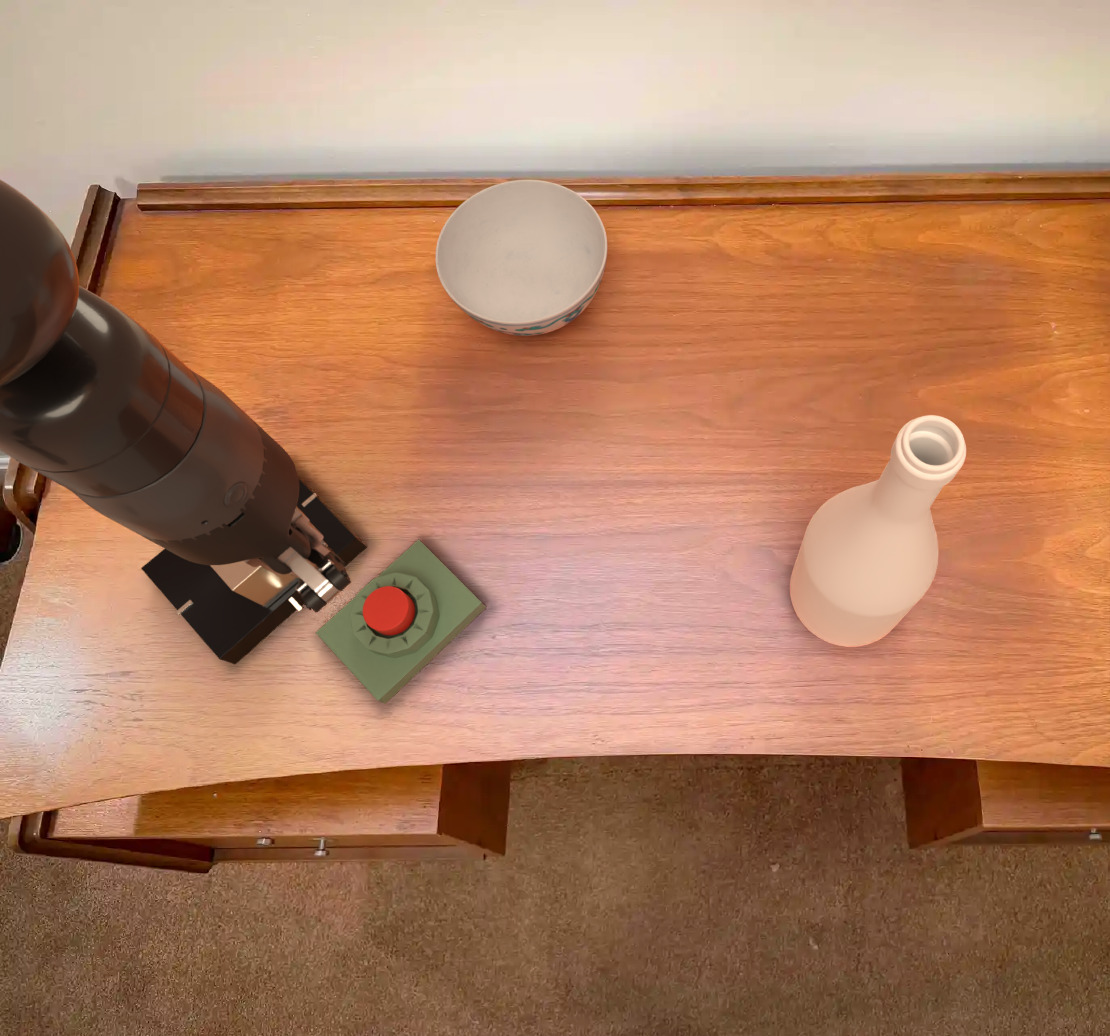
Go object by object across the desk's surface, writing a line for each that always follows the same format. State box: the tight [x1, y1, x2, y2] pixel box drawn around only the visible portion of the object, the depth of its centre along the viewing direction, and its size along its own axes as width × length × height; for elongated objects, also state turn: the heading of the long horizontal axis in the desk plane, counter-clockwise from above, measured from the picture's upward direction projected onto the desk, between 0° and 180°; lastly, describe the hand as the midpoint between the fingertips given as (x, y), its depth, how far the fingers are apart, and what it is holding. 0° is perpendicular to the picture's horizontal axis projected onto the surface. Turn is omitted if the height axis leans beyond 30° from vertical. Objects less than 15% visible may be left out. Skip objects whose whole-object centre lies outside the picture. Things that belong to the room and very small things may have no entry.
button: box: [363, 586, 415, 635], centre depth 69 cm, size 4×4×2 cm
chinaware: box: [435, 179, 608, 337], centre depth 79 cm, size 15×15×8 cm
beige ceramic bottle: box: [789, 414, 967, 648], centre depth 58 cm, size 10×10×30 cm
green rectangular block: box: [315, 539, 487, 705], centre depth 71 cm, size 11×8×4 cm
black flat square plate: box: [140, 475, 368, 665], centre depth 73 cm, size 14×14×3 cm
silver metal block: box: [210, 561, 301, 608], centre depth 69 cm, size 10×4×6 cm, turn 46°
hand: (327, 569), depth 58 cm, fingers closed
